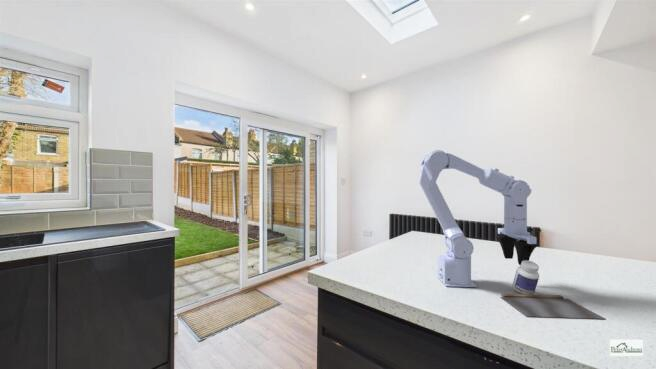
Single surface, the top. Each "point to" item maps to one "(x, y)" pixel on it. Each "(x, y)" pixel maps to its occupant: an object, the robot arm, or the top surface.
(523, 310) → the dark grey mat
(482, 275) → the top surface
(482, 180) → the robot arm
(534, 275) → the pill bottle
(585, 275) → the top surface
